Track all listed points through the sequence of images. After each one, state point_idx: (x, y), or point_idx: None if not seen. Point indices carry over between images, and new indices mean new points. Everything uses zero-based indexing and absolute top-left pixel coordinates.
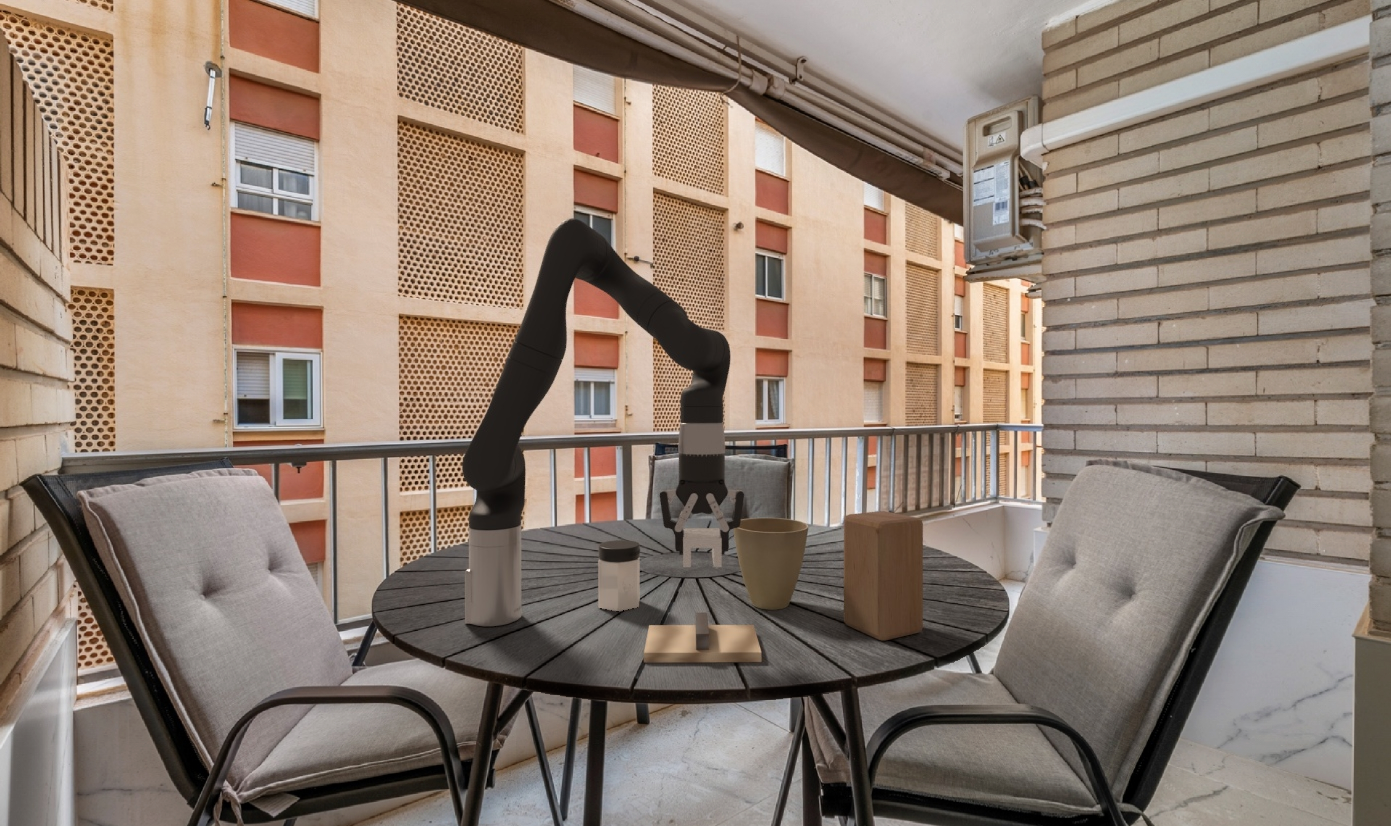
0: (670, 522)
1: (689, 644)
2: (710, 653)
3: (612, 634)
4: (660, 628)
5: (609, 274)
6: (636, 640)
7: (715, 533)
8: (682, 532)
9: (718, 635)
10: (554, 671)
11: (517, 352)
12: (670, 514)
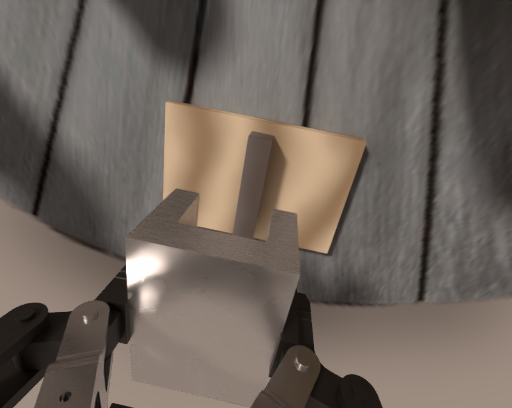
0: (43, 373)
1: (229, 205)
2: (255, 237)
3: (107, 88)
4: (186, 125)
5: None
6: (152, 127)
7: (254, 353)
8: (122, 339)
9: (283, 179)
10: (62, 211)
11: None
12: (2, 363)
